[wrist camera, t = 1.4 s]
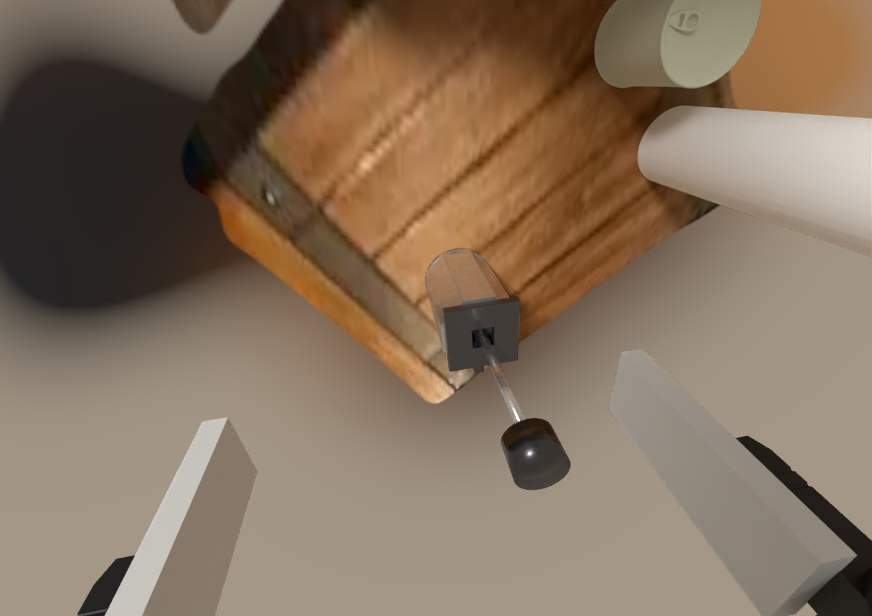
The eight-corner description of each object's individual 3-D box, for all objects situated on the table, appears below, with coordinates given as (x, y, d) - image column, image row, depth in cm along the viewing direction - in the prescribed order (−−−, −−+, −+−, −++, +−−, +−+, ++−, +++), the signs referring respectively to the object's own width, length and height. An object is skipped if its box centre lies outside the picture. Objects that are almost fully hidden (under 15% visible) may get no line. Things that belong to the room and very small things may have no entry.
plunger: (448, 304, 42) (499, 452, 25) (503, 296, 43) (590, 434, 26) (452, 349, 46) (499, 505, 29) (503, 341, 46) (579, 489, 29)
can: (610, -20, 39) (695, -57, 29) (685, -4, 40) (790, -33, 30) (582, 82, 43) (647, 81, 33) (650, 92, 45) (731, 95, 35)
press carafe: (421, 253, 51) (438, 309, 39) (488, 244, 52) (525, 295, 40) (430, 325, 58) (446, 393, 45) (489, 316, 59) (521, 379, 46)
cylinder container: (682, 186, 52) (975, 284, 27) (625, 176, 50) (885, 271, 25) (719, 113, 48) (1115, 147, 22) (658, 98, 45) (1018, 117, 20)
